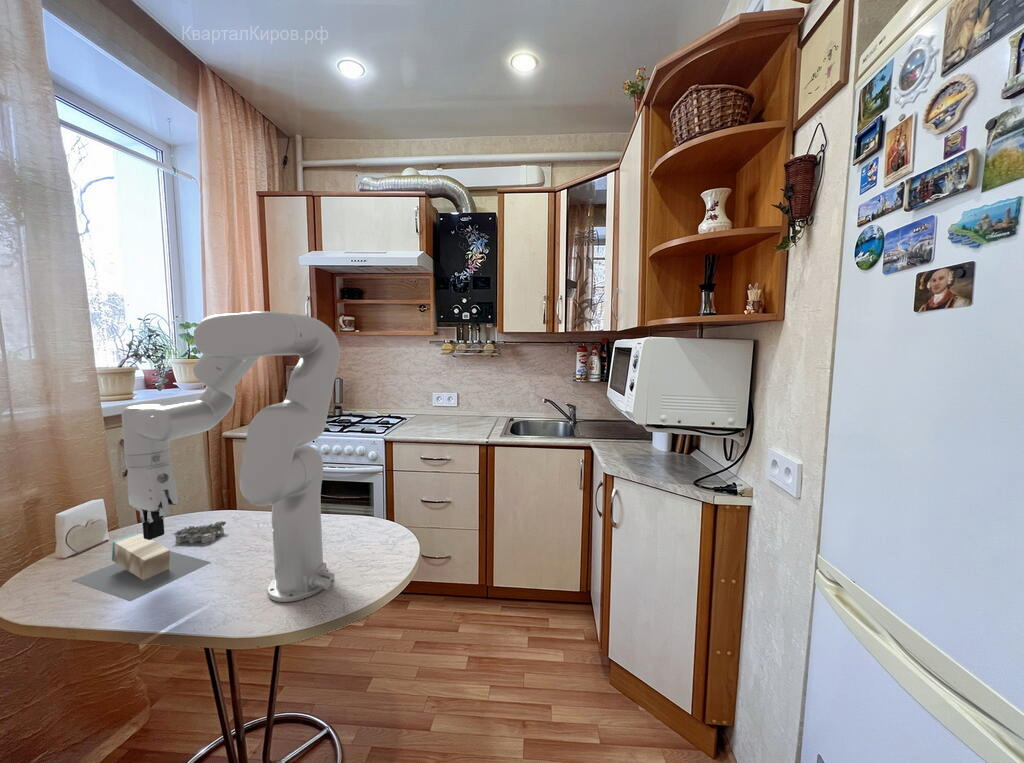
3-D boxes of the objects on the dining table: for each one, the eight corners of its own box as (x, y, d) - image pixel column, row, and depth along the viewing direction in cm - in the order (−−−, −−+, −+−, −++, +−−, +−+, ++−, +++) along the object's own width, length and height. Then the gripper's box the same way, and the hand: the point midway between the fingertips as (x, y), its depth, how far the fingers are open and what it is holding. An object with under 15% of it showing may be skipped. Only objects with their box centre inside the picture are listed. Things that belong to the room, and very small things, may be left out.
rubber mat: (211, 564, 97) (211, 562, 97) (130, 603, 82) (130, 601, 82) (155, 549, 105) (155, 547, 105) (72, 582, 90) (72, 580, 90)
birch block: (170, 550, 94) (139, 532, 97) (144, 560, 89) (112, 541, 93) (168, 568, 94) (138, 550, 98) (143, 580, 90) (112, 560, 94)
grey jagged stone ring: (229, 534, 114) (228, 520, 114) (207, 547, 106) (206, 533, 106) (193, 533, 114) (192, 519, 114) (169, 546, 107) (168, 531, 107)
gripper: (188, 457, 91) (193, 535, 92) (147, 451, 96) (153, 525, 97) (149, 467, 83) (155, 550, 85) (107, 460, 89) (114, 538, 90)
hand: (154, 536), depth 91 cm, fingers closed
